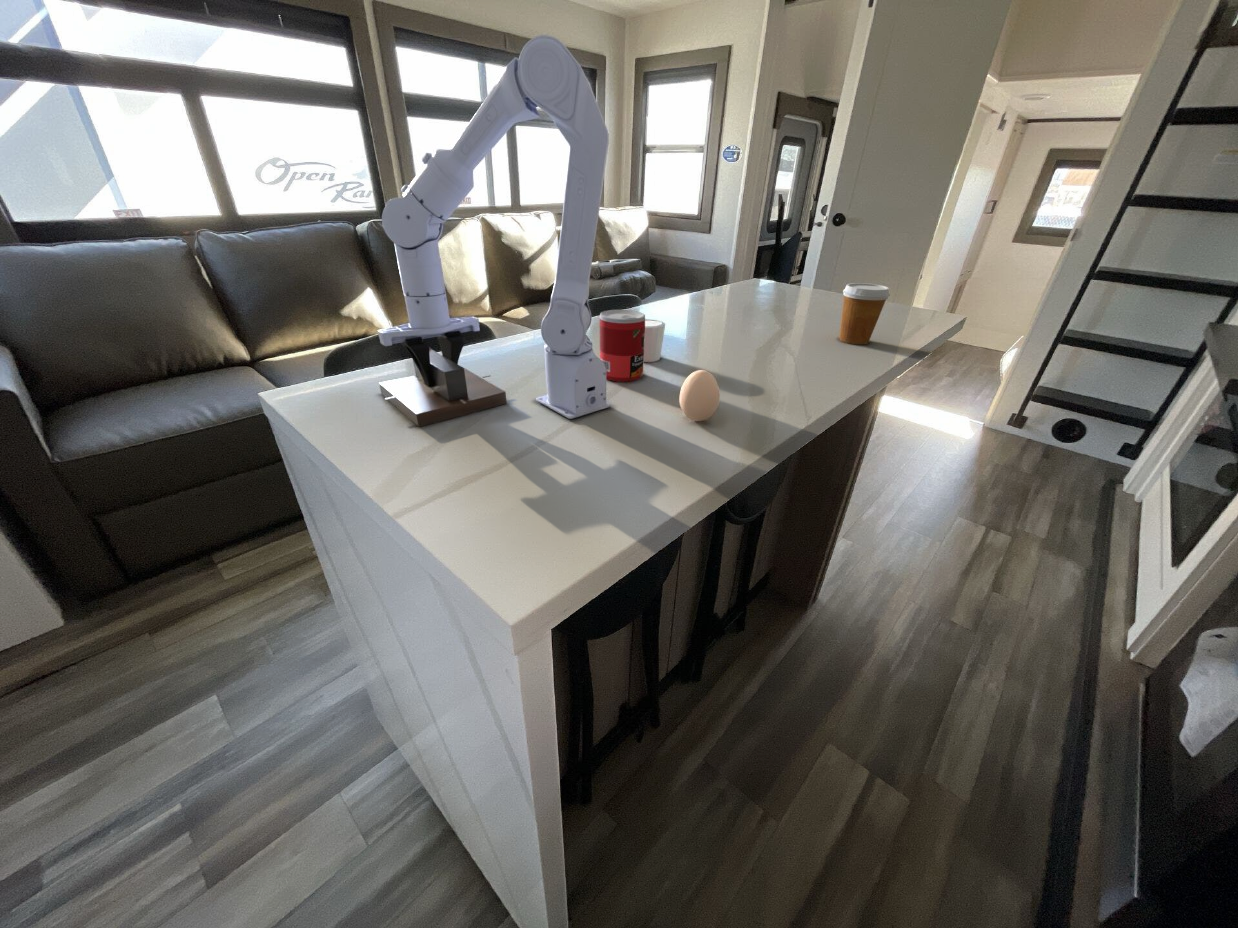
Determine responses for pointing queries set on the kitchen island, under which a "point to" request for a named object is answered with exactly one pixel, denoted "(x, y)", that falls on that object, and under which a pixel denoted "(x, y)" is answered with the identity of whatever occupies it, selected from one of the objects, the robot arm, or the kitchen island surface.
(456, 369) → the gray steel bar
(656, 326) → the white cup
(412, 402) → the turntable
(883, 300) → the disposable coffee cup
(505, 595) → the kitchen island surface
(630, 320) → the canned food
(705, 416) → the egg
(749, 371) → the kitchen island surface
